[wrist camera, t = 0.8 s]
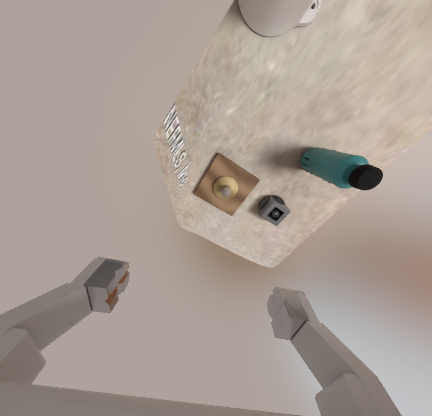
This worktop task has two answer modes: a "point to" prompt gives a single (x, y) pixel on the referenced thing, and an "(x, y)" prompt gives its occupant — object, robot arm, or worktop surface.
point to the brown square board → (226, 185)
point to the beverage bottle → (341, 168)
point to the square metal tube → (269, 207)
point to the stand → (275, 209)
